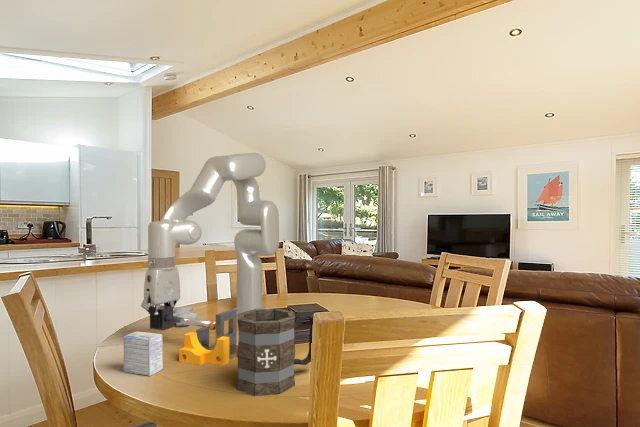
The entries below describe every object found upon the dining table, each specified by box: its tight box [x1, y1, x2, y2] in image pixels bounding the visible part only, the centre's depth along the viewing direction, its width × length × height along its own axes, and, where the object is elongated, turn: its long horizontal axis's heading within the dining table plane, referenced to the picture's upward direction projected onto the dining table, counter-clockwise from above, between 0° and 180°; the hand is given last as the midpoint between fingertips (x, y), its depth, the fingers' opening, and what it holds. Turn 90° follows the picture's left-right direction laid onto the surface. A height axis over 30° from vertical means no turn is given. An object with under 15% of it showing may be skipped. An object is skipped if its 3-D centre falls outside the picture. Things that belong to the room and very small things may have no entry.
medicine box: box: [123, 331, 164, 377], centre depth 96 cm, size 8×4×9 cm, turn 71°
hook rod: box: [149, 304, 216, 332], centre depth 115 cm, size 23×4×6 cm, turn 66°
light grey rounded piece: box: [173, 305, 198, 327], centre depth 140 cm, size 10×5×15 cm
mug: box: [236, 308, 313, 397], centre depth 92 cm, size 20×14×15 cm
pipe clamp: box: [178, 331, 230, 366], centre depth 103 cm, size 12×4×6 cm, turn 69°
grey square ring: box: [195, 308, 238, 360], centre depth 110 cm, size 13×7×11 cm, turn 66°
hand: (161, 325), depth 119 cm, fingers closed on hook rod, 4 cm apart
